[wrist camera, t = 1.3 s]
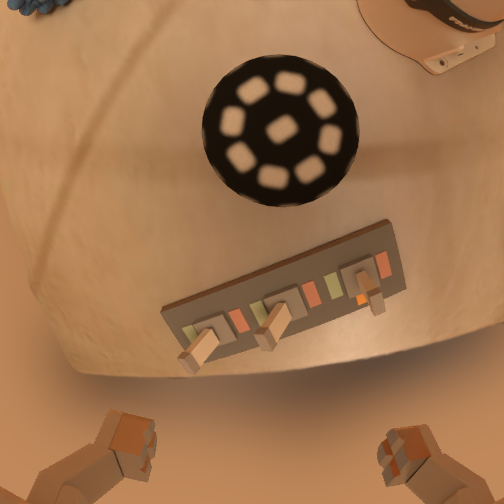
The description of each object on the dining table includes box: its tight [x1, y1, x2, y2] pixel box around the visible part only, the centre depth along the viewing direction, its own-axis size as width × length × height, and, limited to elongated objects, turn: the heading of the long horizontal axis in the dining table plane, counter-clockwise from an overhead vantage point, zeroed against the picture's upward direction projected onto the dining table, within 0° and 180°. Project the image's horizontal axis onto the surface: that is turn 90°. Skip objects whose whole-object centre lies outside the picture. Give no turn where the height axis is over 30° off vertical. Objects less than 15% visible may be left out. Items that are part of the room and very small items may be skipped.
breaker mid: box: [253, 303, 292, 352], centre depth 36 cm, size 1×3×6 cm, turn 23°
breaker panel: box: [160, 219, 406, 363], centre depth 40 cm, size 32×10×2 cm, turn 113°
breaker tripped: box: [356, 270, 386, 316], centre depth 34 cm, size 1×3×6 cm, turn 24°
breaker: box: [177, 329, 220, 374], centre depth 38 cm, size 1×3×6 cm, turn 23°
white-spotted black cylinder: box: [202, 54, 359, 207], centre depth 25 cm, size 8×8×20 cm
